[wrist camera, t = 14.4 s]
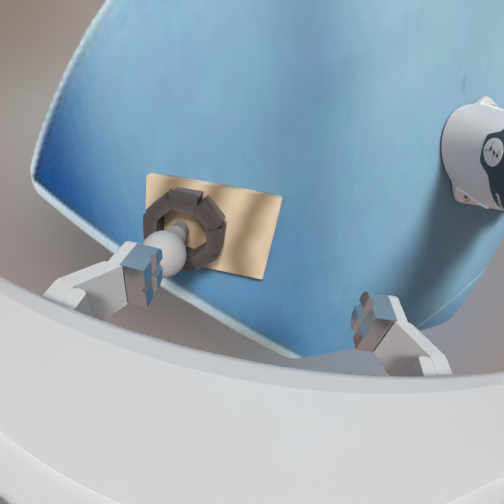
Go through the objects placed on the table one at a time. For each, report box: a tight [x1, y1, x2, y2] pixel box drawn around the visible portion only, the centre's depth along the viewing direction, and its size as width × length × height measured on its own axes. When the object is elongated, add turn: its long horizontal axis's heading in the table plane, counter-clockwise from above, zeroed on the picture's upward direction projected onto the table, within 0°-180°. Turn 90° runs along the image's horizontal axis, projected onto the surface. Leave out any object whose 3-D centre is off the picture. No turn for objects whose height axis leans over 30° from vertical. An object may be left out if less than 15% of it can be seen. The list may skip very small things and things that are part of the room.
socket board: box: [143, 173, 282, 279], centre depth 41 cm, size 20×14×4 cm
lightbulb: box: [143, 221, 188, 278], centre depth 37 cm, size 6×6×11 cm
